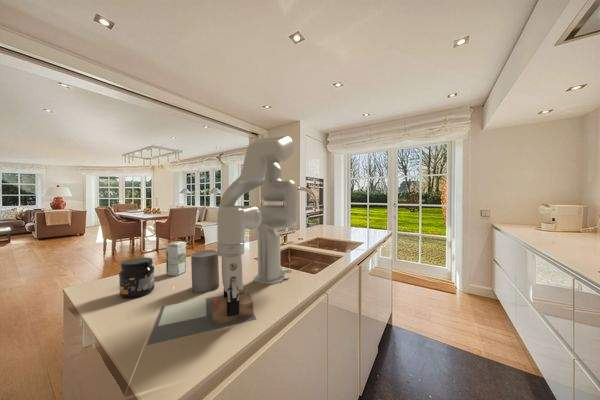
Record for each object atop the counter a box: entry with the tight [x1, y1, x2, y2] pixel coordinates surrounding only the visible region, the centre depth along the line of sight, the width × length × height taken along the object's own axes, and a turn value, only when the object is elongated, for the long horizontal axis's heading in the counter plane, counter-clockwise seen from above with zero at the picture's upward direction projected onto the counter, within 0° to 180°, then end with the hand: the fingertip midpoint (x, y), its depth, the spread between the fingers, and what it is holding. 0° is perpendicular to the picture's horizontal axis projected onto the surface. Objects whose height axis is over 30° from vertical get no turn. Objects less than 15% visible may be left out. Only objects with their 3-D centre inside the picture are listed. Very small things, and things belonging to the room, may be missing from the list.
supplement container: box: [118, 256, 156, 299], centre depth 81 cm, size 10×10×12 cm
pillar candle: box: [190, 249, 220, 294], centre depth 85 cm, size 10×10×15 cm
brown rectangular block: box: [212, 292, 254, 325], centre depth 65 cm, size 11×6×4 cm, turn 114°
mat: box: [146, 291, 257, 346], centre depth 66 cm, size 26×20×1 cm
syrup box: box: [165, 240, 187, 277], centre depth 101 cm, size 6×6×14 cm
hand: (230, 307), depth 64 cm, fingers open, 9 cm apart
